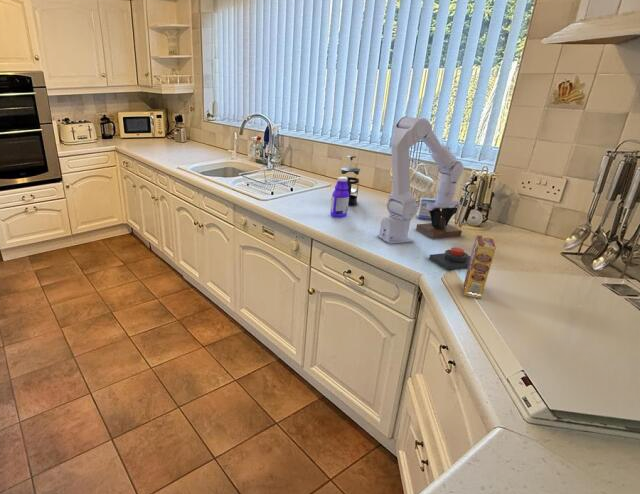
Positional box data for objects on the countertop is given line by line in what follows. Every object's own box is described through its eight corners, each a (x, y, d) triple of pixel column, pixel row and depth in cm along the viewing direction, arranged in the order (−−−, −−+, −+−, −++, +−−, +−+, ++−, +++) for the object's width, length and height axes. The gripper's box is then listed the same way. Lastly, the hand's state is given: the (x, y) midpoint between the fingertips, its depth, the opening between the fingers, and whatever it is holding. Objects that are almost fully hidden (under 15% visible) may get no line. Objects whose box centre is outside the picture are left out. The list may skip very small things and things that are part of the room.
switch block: (447, 270, 123) (450, 260, 122) (428, 259, 131) (430, 249, 130) (481, 267, 125) (483, 257, 124) (460, 256, 133) (462, 246, 132)
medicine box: (417, 218, 170) (421, 199, 166) (417, 215, 173) (420, 196, 170) (438, 220, 167) (442, 201, 164) (437, 217, 171) (441, 198, 167)
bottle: (341, 213, 178) (345, 175, 171) (349, 217, 173) (353, 178, 166) (327, 215, 176) (331, 176, 169) (335, 219, 171) (338, 179, 164)
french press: (357, 206, 186) (363, 158, 178) (337, 205, 188) (341, 157, 180) (355, 200, 197) (361, 153, 188) (336, 199, 199) (340, 153, 190)
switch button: (455, 257, 125) (456, 252, 125) (447, 252, 128) (448, 247, 128) (465, 256, 126) (466, 251, 125) (457, 251, 129) (458, 246, 128)
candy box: (482, 299, 107) (496, 248, 101) (464, 296, 109) (476, 245, 103) (480, 285, 114) (493, 237, 108) (463, 282, 116) (475, 234, 110)
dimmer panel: (432, 239, 148) (433, 232, 147) (415, 230, 157) (416, 223, 156) (460, 236, 150) (462, 230, 149) (442, 227, 159) (443, 221, 158)
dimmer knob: (438, 229, 150) (440, 220, 149) (430, 226, 154) (432, 216, 152) (447, 228, 151) (449, 218, 150) (439, 224, 155) (441, 215, 153)
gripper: (439, 196, 141) (432, 231, 147) (470, 192, 146) (462, 227, 151) (424, 191, 148) (418, 225, 153) (454, 188, 152) (447, 221, 157)
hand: (439, 226), depth 152 cm, fingers closed on dimmer knob, 4 cm apart
